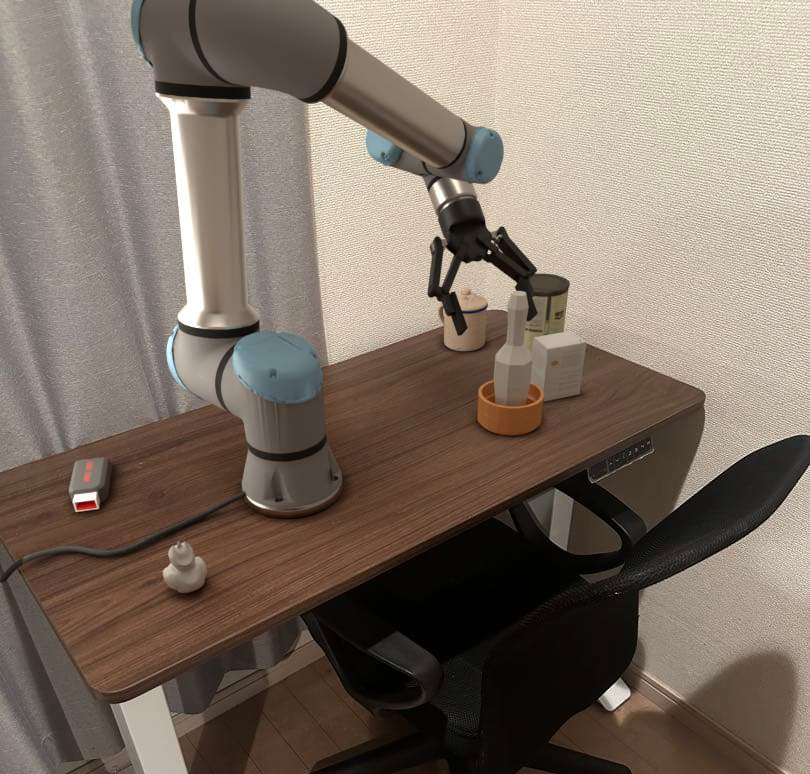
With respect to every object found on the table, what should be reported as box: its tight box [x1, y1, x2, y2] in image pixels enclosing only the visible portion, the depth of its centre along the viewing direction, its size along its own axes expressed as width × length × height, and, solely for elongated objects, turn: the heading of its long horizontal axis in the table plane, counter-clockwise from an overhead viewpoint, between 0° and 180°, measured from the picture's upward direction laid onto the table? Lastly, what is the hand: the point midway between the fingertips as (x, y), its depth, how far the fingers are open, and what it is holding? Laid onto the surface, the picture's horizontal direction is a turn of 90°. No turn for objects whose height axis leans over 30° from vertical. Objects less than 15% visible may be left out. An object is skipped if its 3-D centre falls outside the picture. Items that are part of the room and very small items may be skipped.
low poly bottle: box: [493, 290, 533, 407], centre depth 125 cm, size 6×6×22 cm
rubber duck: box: [162, 539, 208, 594], centre depth 96 cm, size 5×7×8 cm
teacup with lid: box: [437, 286, 489, 352], centre depth 156 cm, size 12×9×12 cm
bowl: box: [476, 379, 545, 436], centre depth 130 cm, size 11×11×6 cm
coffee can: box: [516, 273, 571, 355], centre depth 151 cm, size 10×10×14 cm
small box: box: [531, 330, 587, 403], centre depth 137 cm, size 8×6×10 cm
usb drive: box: [68, 456, 113, 513], centre depth 116 cm, size 5×12×3 cm, turn 13°
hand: (498, 324), depth 126 cm, fingers open, 13 cm apart
